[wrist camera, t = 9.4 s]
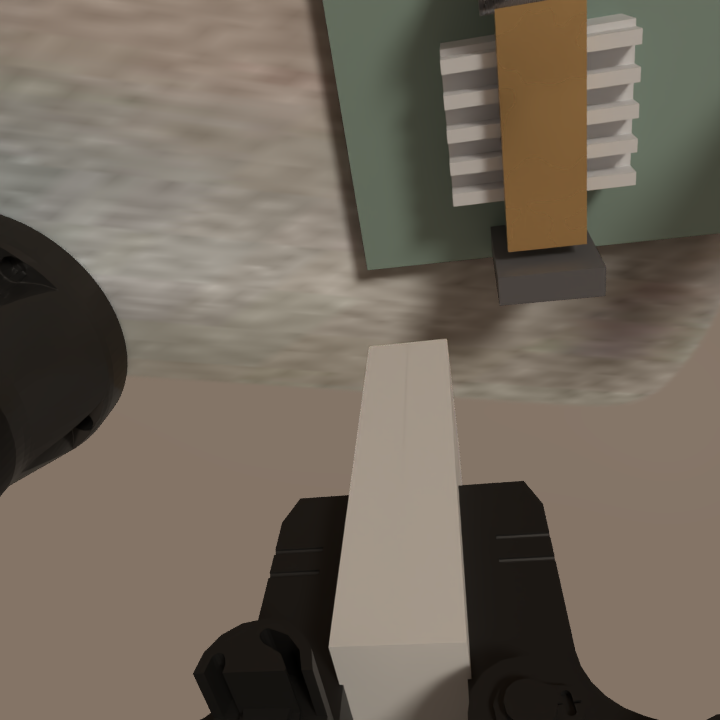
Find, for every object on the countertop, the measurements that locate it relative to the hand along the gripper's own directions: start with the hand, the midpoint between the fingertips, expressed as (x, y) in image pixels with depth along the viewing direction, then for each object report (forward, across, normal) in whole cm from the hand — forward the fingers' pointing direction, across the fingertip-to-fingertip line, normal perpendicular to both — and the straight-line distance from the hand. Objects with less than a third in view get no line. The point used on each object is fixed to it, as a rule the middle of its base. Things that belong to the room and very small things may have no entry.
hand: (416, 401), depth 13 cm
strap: (+15, +5, +2) cm, 16 cm away
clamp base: (+20, +5, +2) cm, 21 cm away
